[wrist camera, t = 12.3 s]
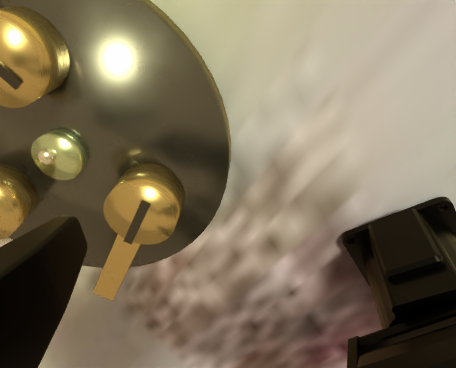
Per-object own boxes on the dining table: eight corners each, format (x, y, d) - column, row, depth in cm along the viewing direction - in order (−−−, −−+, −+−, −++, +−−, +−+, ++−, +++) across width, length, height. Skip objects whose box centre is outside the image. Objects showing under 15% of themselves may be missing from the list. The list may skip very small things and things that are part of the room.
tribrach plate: (290, 192, 21) (292, 221, 19) (82, 285, 29) (64, 314, 26) (61, -159, 14) (16, -183, 11) (-145, 89, 21) (-197, 105, 19)
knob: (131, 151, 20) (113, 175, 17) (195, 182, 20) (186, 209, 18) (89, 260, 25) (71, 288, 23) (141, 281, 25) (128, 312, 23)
